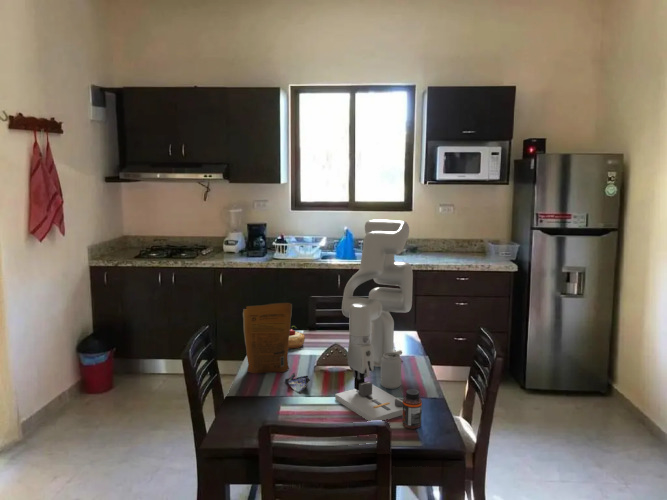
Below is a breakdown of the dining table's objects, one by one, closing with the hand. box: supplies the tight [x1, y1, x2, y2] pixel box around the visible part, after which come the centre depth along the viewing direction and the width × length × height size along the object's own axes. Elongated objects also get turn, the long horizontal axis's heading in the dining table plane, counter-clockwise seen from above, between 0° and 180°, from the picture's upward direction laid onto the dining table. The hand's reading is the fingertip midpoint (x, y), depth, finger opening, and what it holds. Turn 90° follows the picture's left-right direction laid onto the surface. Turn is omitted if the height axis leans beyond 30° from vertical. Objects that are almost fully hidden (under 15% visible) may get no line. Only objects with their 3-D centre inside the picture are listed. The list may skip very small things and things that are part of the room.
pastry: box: [288, 325, 306, 350], centre depth 253 cm, size 12×12×9 cm
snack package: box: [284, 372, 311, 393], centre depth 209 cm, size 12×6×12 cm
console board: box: [334, 384, 403, 422], centre depth 192 cm, size 16×22×4 cm
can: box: [380, 353, 402, 390], centre depth 208 cm, size 8×8×12 cm
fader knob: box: [359, 381, 373, 397], centre depth 195 cm, size 4×2×4 cm, turn 123°
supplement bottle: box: [402, 388, 423, 429], centre depth 178 cm, size 6×6×11 cm
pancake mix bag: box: [242, 302, 293, 375], centre depth 220 cm, size 7×19×28 cm, turn 98°
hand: (359, 388), depth 198 cm, fingers closed
